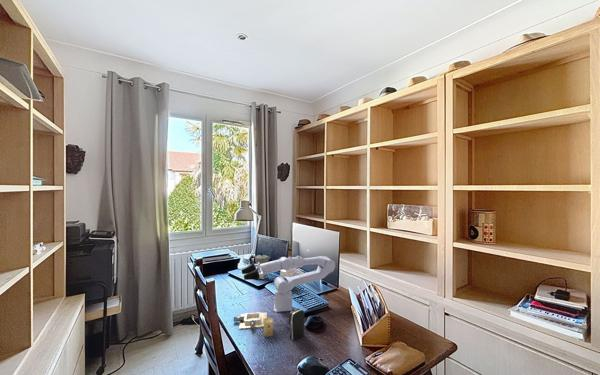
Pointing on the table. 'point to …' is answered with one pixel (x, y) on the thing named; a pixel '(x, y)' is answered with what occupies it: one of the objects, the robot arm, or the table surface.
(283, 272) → the ink cartridge box
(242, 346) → the table surface
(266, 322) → the coupling block
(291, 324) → the battery charger
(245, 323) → the cream square socket base
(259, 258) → the coffeepot
